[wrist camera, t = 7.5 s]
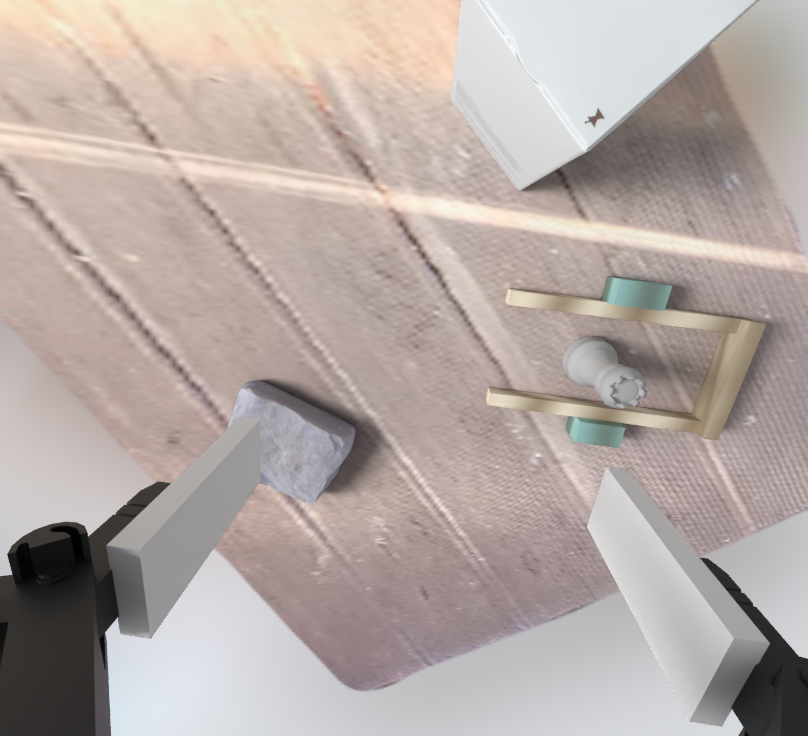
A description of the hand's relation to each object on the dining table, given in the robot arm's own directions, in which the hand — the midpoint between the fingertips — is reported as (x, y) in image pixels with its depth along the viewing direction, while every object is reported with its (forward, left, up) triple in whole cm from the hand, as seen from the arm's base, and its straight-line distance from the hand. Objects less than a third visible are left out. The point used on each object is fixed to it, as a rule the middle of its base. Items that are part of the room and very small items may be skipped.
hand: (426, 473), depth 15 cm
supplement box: (-19, +5, -22) cm, 30 cm away
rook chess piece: (0, +14, -22) cm, 26 cm away
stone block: (+13, -13, -23) cm, 29 cm away
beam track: (0, +16, -22) cm, 27 cm away
